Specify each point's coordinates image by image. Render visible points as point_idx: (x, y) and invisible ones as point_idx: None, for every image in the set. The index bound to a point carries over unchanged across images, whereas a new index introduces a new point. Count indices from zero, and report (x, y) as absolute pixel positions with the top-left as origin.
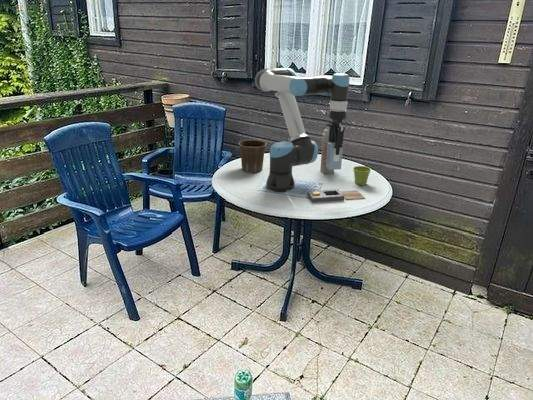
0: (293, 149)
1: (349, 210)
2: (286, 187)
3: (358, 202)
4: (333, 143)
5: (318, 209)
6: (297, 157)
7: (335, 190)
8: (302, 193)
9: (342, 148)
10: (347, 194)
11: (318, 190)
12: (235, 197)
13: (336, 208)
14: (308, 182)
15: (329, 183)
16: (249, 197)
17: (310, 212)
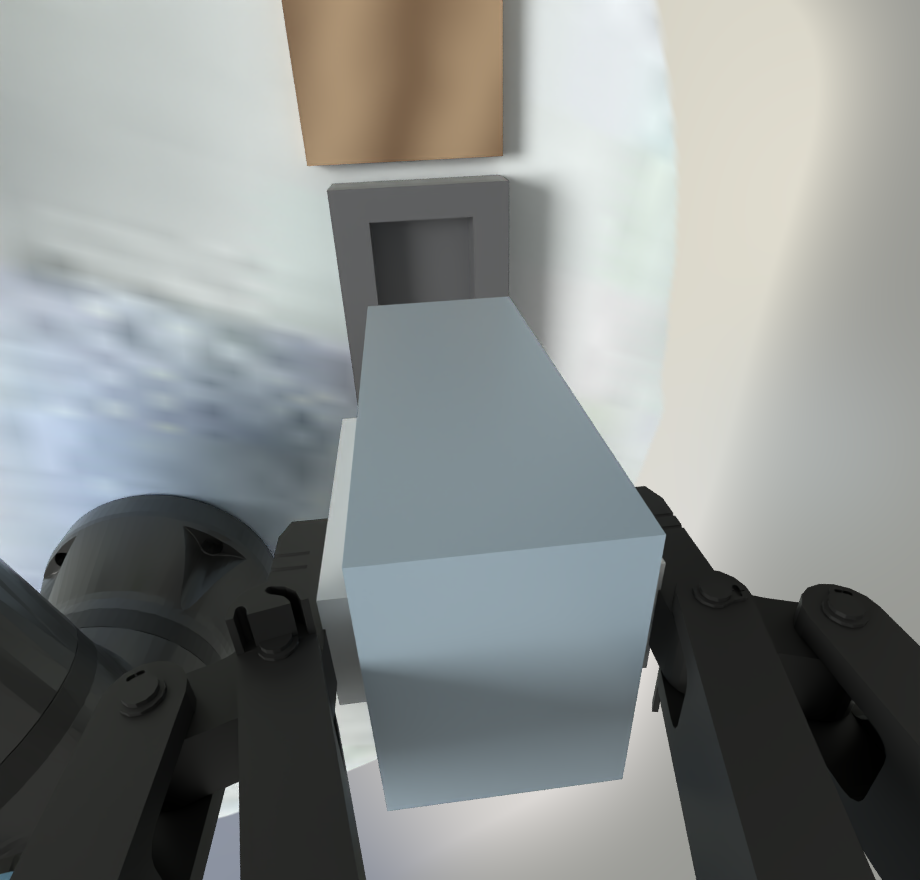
0: (8, 839)
1: (674, 188)
2: (264, 575)
3: (540, 22)
4: (484, 725)
5: (594, 410)
6: (77, 712)
7: (363, 227)
8: (301, 460)
9: (620, 475)
10: (389, 92)
11: (355, 381)
12: (357, 759)
13: (611, 283)
14: (27, 373)
15: (8, 168)
16: (360, 713)
17: (622, 464)
